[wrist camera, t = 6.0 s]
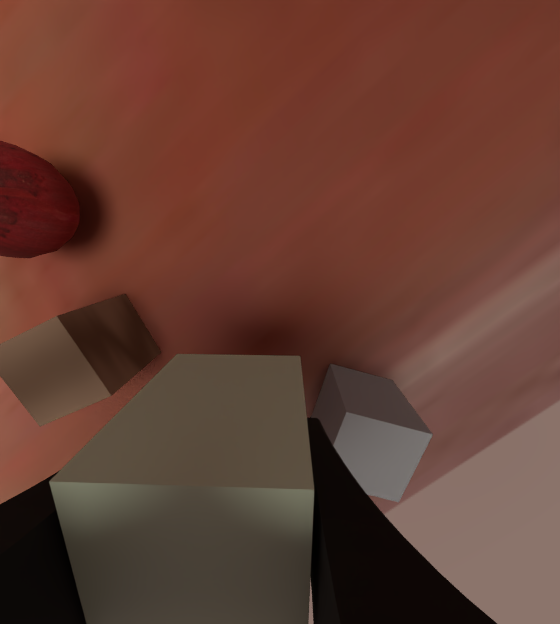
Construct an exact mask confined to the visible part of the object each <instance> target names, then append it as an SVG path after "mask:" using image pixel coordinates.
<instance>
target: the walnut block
mask: <svg viewBox="0 0 560 624" xmlns="http://www.w3.org/2000/svg"><path fill="white" fill-rule="evenodd" d="M160 353H161V351H160V349H159V348H158V346H157V345H156V343H155V341H154V340H153V338H152V336H151V335H150V333H149V331H148V330H147V328H146V327H145V325H144V323H143V322H142V320H141V318H140V317H139V315H138V313H137V312H136V310H135V308H134V307H133V305H132V304H131V302H130V300H129V299H128V297H127V295H126V294H123V295H120V296H117V297H114V298H111V299H108V300H105V301H102V302H98V303H95V304H92V305H89V306H86V307H83V308H80V309H77V310H74V311H71V312H68V313H65V314H62V315H59V316H56V317H54V318H52V319H50V320H48V321H46V322H44V323H42V324H40V325H38V326H36V327H34V328H32V329H30V330H28V331H26V332H24V333H22V334H20V335H18V336H16V337H14V338H12V339H10V340H8V341H6V342H4V343H2V344H0V376H1V378H2V379H3V380H4V381H5V383H6V384H7V385H8V386H9V388H10V389H11V390H12V392H13V393H14V394H15V395H16V397H17V398H18V399H19V400H20V402H21V403H22V404H23V406H24V407H25V408H26V409H27V411H28V412H29V413H30V414H31V416H32V417H33V418H34V420H35V421H36V422H37V423H38V425H39V426H42V425H45V424H47V423H49V422H52V421H54V420H56V419H59V418H61V417H63V416H66V415H68V414H70V413H73V412H75V411H77V410H80V409H82V408H84V407H86V406H89V405H91V404H93V403H96V402H98V401H100V400H103V399H105V398H107V397H110V396H112V395H113V394H114V393H115V392H116V391H117V390H119V389H120V388H121V387H122V386H123V385H124V384H125V383H127V382H128V381H129V380H130V379H131V378H132V377H133V376H135V375H136V374H137V373H138V372H139V371H140V370H141V369H143V368H144V367H145V366H146V365H147V364H148V363H149V362H150V361H152V360H153V359H154V358H155V357H156V356H157V355H158V354H160Z"/></svg>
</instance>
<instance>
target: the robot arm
mask: <svg viewBox="0 0 560 624" xmlns="http://www.w3.org/2000/svg"><path fill="white" fill-rule="evenodd" d="M307 424H308V434H309V444H310V453H311V463H312V472H313V482H314V508H313V530H312V552H311V574H310V577H311V587H312V602H313V618H314V619H313V620H314V624H497V623H496V622H495V621H493V620H492V619H491V618H490V617H489V616H487V615H486V614H485V613H484V612H483V611H482V610H480V609H479V608H478V607H477V606H476V605H474V604H473V603H472V602H471V601H470V600H469V599H467V598H466V597H465V596H464V595H463V594H462V593H461V592H460V591H459V590H458V589H456V588H455V587H454V586H453V585H452V584H451V583H450V582H449V581H448V580H447V579H446V578H444V577H443V576H442V575H441V574H440V573H439V572H438V571H437V570H436V569H435V568H434V567H433V566H432V565H431V564H430V563H429V562H428V561H427V560H426V559H425V558H424V557H423V556H422V555H421V554H420V553H419V552H418V551H417V550H416V549H415V548H414V547H413V546H412V545H411V544H410V543H409V542H408V541H407V540H406V539H405V538H404V537H403V535H402V534H401V533H400V532H399V531H398V530H397V529H396V528H395V527H394V526H393V524H392V523H391V522H390V521H389V520H388V519H387V518H386V517H385V515H384V514H383V513H382V512H381V511H380V510H379V508H378V507H377V506H376V505H375V504H374V502H373V501H372V500H371V499H370V497H369V496H368V495H367V494H366V492H365V491H364V490H363V488H362V487H361V486H360V484H359V483H358V482H357V480H356V479H355V478H354V476H353V475H352V474H351V472H350V471H349V469H348V468H347V466H346V465H345V463H344V462H343V460H342V459H341V457H340V456H339V454H338V453H337V451H336V449H335V448H334V446H333V444H332V443H331V441H330V439H329V437H328V436H327V434H326V432H325V430H324V428H323V426H322V424H321V422H320V420H319V419H318V418H307ZM58 472H59V471H58ZM58 472H57V473H58ZM57 473H55V474H54V475H52V476H50V477H48V478H47V479H45V480H43V481H42V482H40V483H38V484H36V485H35V486H33V487H31V488H29V489H28V490H26V491H24V492H22V493H20V494H18V495H17V496H15V497H13V498H11V499H9V500H7V501H6V502H4V503H2V504H0V624H86V620H85V616H84V612H83V609H82V605H81V601H80V597H79V593H78V590H77V586H76V582H75V578H74V574H73V571H72V567H71V563H70V559H69V555H68V552H67V548H66V544H65V540H64V537H63V533H62V529H61V525H60V521H59V518H58V514H57V510H56V506H55V502H54V499H53V495H52V491H51V487H50V483H49V481H50V480H51V479H52V478H53V477H54V476H55V475H56V474H57Z"/></svg>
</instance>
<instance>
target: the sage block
mask: <svg viewBox="0 0 560 624" xmlns="http://www.w3.org/2000/svg"><path fill="white" fill-rule="evenodd" d="M49 483H50V487H51V491H52V495H53V499H54V502H55V506H56V510H57V514H58V518H59V521H60V525H61V529H62V533H63V537H64V540H65V544H66V548H67V552H68V555H69V559H70V563H71V567H72V571H73V574H74V578H75V582H76V586H77V590H78V593H79V597H80V601H81V605H82V609H83V612H84V616H85V620H86V624H308V618H309V596H310V574H311V552H312V530H313V508H314V482H313V472H312V463H311V453H310V444H309V434H308V424H307V415H306V405H305V396H304V386H303V377H302V367H301V358H300V356H278V355H216V354H176V355H175V356H174V357H173V358H172V359H171V360H170V361H169V362H168V363H167V364H166V365H165V366H164V367H163V368H162V369H161V370H160V371H159V372H158V373H157V374H156V375H155V376H154V377H153V378H152V379H151V380H150V381H149V382H148V383H147V384H146V385H145V386H144V387H143V388H142V389H141V390H140V391H139V392H138V393H137V394H136V395H135V396H134V397H133V398H132V399H131V400H130V401H129V402H128V403H127V404H126V405H125V406H124V407H123V408H122V409H121V410H120V411H119V412H118V413H117V414H116V415H115V416H114V417H113V418H112V419H111V420H110V421H109V422H108V423H107V424H106V425H105V426H104V427H103V428H102V429H101V430H100V431H99V432H98V433H97V434H96V435H95V436H94V437H93V438H92V439H91V440H90V441H89V442H88V443H87V444H86V445H85V446H84V447H83V448H82V449H81V450H80V451H79V452H78V453H77V454H76V455H75V456H74V457H73V458H72V459H71V460H70V461H69V462H68V463H67V464H66V465H65V466H64V467H63V468H62V469H61V470H60V471H59V472H58V473H57V474H56V475H55V476H54V477H53V478H52V479H51V480H50V481H49Z"/></svg>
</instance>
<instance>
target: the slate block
mask: <svg viewBox="0 0 560 624" xmlns="http://www.w3.org/2000/svg"><path fill="white" fill-rule="evenodd" d="M311 418H318V419H319V420H320V422H321V424H322V426H323V428H324V430H325V432H326V434H327V436H328V437H329V439H330V441H331V443H332V444H333V446H334V448H335V449H336V451H337V453H338V454H339V456H340V457H341V459H342V460H343V462H344V463H345V465H346V466H347V468H348V469H349V471H350V472H351V474H352V475H353V476H354V478H355V479H356V480H357V482H358V483H359V484H360V486H361V487H362V488H363V490H364V491H365V492H366V494H368V495H372V496H376V497H380V498H384V499H388V500H392V501H396V502H399V500H400V499H401V497H402V495H403V493H404V491H405V489H406V487H407V485H408V483H409V481H410V479H411V477H412V475H413V473H414V471H415V469H416V467H417V465H418V463H419V461H420V459H421V457H422V455H423V453H424V451H425V449H426V447H427V445H428V443H429V441H430V439H431V437H432V435H433V434H432V433H431V431H430V430H429V429H428V427H427V426H426V425H425V423H424V422H423V421H422V419H421V418H420V417H419V415H418V414H417V413H416V411H415V410H414V409H413V407H412V406H411V404H410V403H409V402H408V400H407V399H406V398H405V396H404V395H403V394H402V392H401V391H400V390H399V388H398V387H397V386H396V384H395V383H394V382H393V380H390V379H386V378H382V377H379V376H375V375H371V374H367V373H364V372H360V371H356V370H352V369H349V368H345V367H341V366H337V365H334V364H330V365H329V368H328V371H327V374H326V376H325V379H324V382H323V385H322V388H321V390H320V393H319V396H318V399H317V402H316V405H315V407H314V410H313V413H312V416H311Z"/></svg>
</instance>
